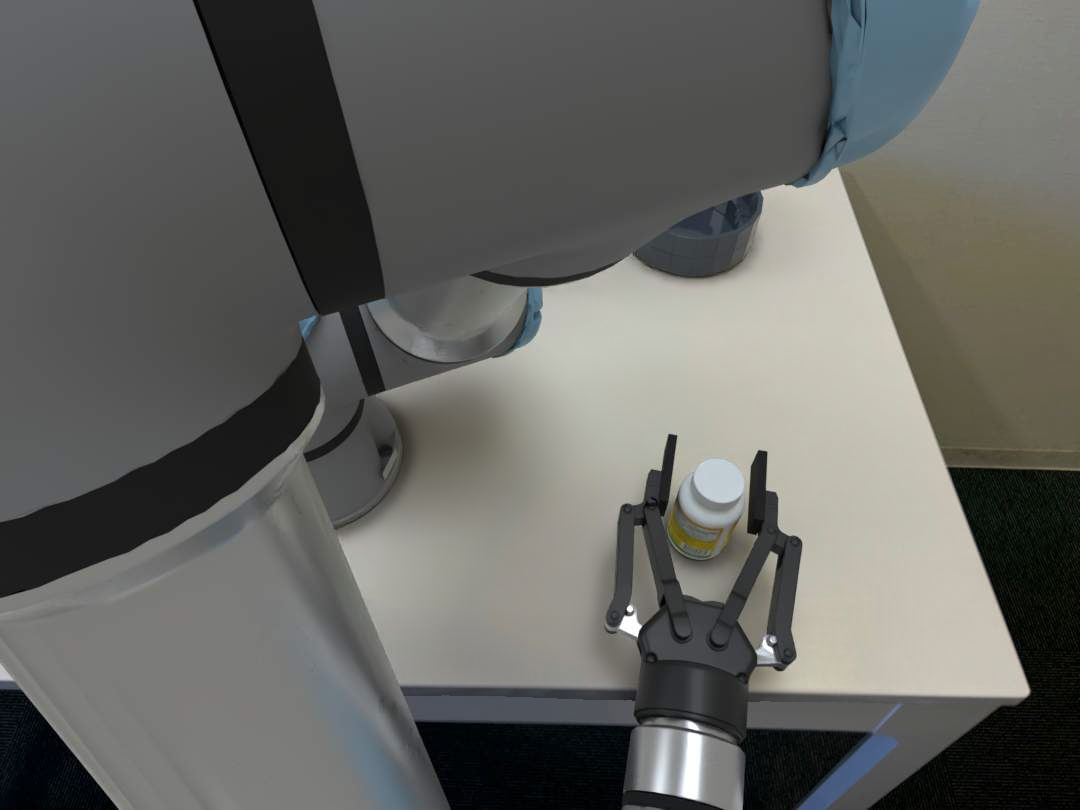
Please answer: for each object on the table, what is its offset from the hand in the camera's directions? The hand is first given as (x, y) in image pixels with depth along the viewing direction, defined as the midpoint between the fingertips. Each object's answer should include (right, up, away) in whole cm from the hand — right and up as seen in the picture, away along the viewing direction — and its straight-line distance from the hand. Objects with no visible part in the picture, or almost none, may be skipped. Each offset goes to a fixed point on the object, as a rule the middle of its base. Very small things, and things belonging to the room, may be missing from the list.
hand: (714, 451), depth 60 cm
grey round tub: (+3, +25, +25) cm, 35 cm away
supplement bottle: (-1, -8, +2) cm, 8 cm away
